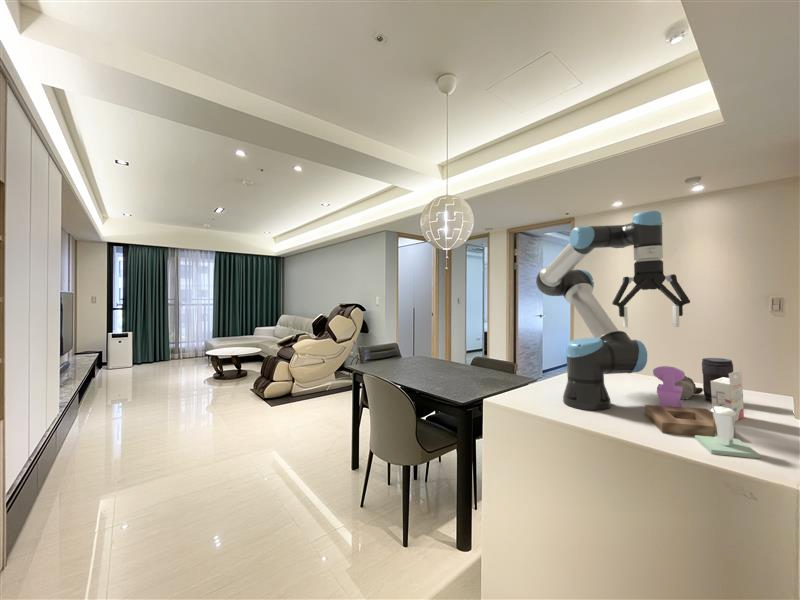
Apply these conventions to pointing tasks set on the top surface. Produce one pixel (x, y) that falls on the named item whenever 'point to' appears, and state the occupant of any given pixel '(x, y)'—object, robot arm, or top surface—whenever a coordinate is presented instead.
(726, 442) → the milkshake
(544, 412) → the top surface
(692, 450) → the top surface
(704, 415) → the pocket block
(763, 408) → the top surface
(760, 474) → the top surface
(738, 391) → the ink cartridge box
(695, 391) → the ceramic sculpture
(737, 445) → the mat
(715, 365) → the camera lens
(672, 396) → the toy chair
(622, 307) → the robot arm
